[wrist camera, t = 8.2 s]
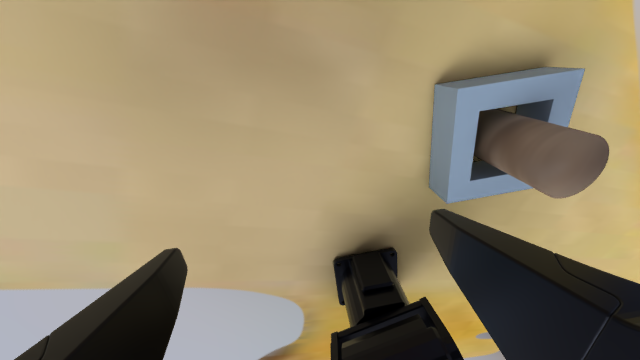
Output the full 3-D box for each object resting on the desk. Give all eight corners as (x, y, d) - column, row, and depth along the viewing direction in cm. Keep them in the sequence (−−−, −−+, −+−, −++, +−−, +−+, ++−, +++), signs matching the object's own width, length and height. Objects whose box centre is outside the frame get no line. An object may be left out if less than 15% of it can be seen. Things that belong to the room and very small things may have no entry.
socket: (521, 170, 24) (550, 184, 22) (428, 187, 24) (446, 203, 21) (545, 66, 20) (585, 68, 18) (434, 84, 20) (457, 88, 17)
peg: (499, 149, 23) (595, 192, 16) (456, 157, 23) (533, 203, 16) (508, 104, 21) (619, 128, 14) (461, 111, 21) (550, 140, 14)
